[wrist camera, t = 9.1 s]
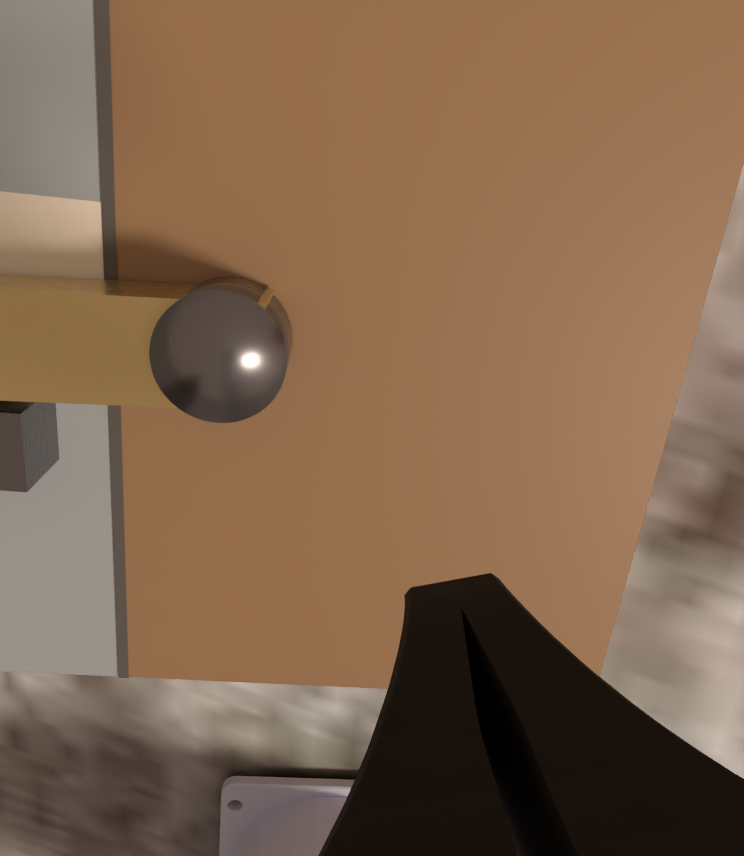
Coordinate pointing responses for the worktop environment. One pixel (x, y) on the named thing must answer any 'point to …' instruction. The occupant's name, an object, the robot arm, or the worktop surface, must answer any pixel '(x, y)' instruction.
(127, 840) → the worktop surface
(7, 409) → the block
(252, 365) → the latch arm
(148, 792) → the worktop surface
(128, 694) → the worktop surface
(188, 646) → the door mockup
